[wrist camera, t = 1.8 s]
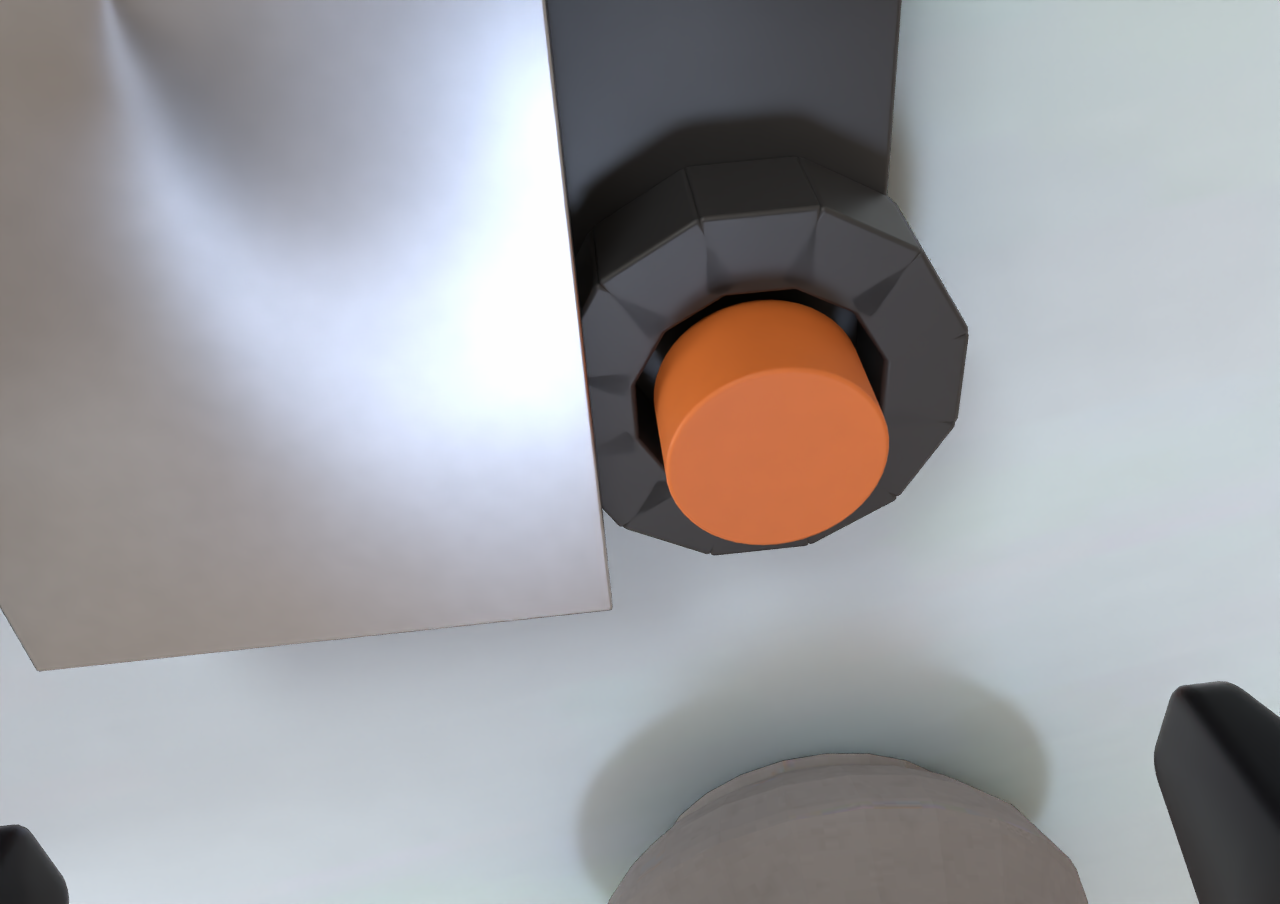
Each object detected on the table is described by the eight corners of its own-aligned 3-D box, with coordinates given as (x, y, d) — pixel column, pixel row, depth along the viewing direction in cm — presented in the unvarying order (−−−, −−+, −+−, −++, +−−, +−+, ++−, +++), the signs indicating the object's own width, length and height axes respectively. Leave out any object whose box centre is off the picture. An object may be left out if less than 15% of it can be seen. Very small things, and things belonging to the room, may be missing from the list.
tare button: (854, 457, 18) (882, 535, 16) (659, 478, 18) (671, 557, 16) (865, 287, 16) (898, 358, 14) (647, 309, 16) (660, 381, 14)
